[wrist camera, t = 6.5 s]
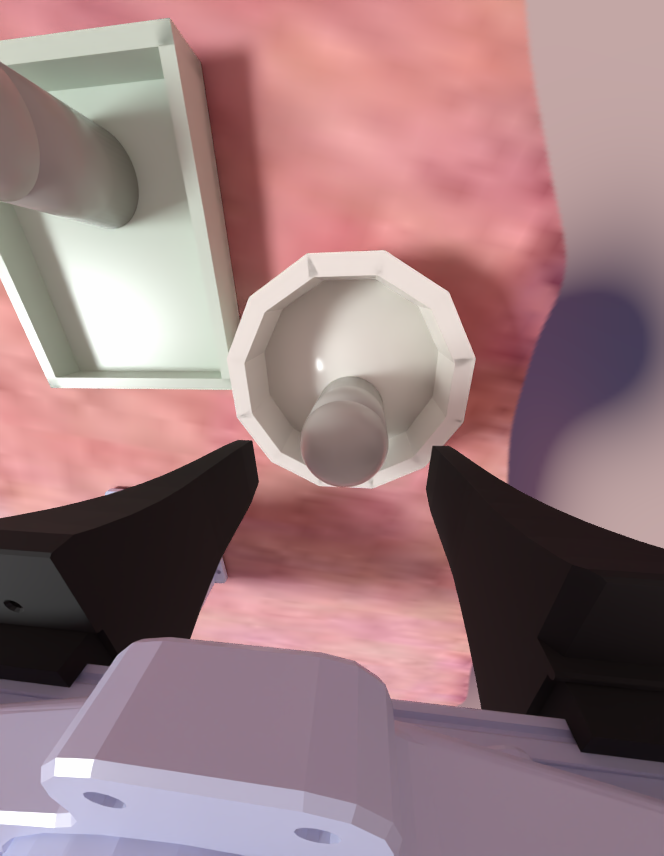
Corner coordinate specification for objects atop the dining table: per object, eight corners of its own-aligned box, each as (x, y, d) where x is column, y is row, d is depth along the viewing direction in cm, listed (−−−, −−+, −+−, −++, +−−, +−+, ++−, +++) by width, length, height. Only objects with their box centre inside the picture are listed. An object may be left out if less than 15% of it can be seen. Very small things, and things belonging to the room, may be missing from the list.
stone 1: (149, 227, 13) (-8, 176, 8) (77, 230, 14) (-121, 185, 8) (122, 118, 12) (-100, -46, 6) (42, 125, 12) (-237, -21, 7)
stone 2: (385, 436, 17) (394, 505, 11) (322, 440, 17) (298, 507, 11) (381, 373, 15) (389, 413, 9) (313, 379, 16) (280, 421, 10)
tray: (248, 379, 17) (234, 389, 15) (82, 378, 18) (50, 387, 16) (200, 62, 11) (169, 17, 9) (-36, 89, 12) (-104, 54, 11)
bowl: (434, 457, 18) (449, 491, 15) (268, 451, 19) (248, 482, 16) (465, 257, 13) (497, 245, 10) (242, 265, 14) (208, 257, 11)
